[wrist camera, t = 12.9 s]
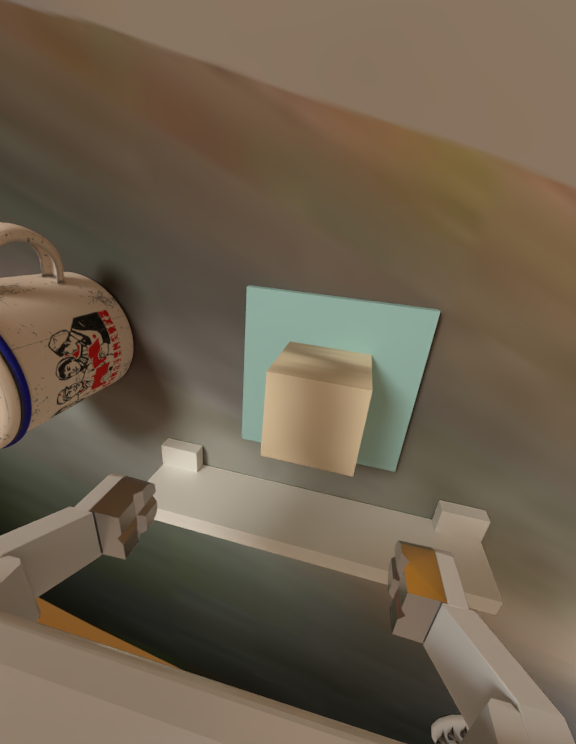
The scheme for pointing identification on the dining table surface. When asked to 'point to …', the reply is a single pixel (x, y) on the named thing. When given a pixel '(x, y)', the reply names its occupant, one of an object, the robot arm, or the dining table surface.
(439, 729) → the decorative candle
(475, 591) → the divider wall
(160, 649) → the dining table surface
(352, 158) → the dining table surface
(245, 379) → the pad
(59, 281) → the teacup with lid
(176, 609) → the dining table surface
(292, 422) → the maple block
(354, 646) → the dining table surface
